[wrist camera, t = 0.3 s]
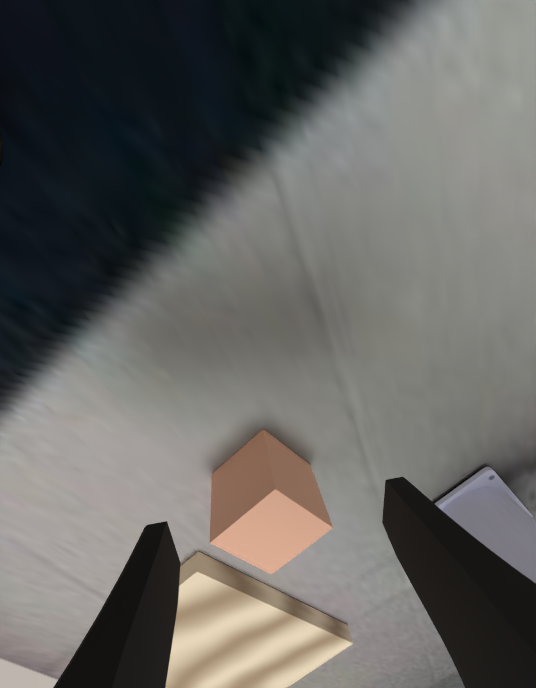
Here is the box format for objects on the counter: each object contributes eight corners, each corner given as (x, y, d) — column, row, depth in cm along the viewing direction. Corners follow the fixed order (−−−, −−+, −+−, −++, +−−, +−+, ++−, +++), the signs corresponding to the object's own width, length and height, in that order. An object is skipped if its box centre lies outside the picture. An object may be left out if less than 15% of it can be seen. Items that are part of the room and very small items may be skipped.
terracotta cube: (310, 464, 22) (333, 527, 18) (261, 504, 23) (271, 574, 19) (263, 428, 21) (275, 489, 16) (211, 473, 21) (209, 543, 17)
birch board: (347, 624, 31) (353, 643, 30) (251, 690, 34) (252, 710, 32) (198, 551, 24) (197, 571, 23) (88, 642, 26) (81, 665, 25)
